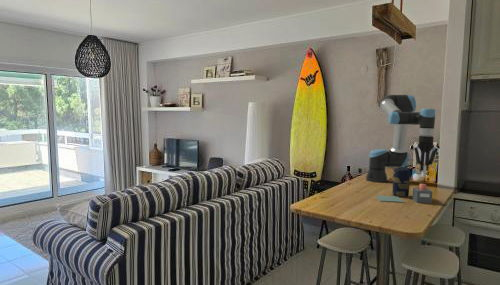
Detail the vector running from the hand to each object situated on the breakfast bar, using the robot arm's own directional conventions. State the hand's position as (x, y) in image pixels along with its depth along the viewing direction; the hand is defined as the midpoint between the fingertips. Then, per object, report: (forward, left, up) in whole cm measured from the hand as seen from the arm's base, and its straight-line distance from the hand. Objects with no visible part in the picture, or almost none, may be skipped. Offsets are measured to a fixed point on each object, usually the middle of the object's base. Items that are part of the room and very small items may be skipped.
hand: (423, 176), depth 197 cm
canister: (-11, -9, -15) cm, 21 cm away
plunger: (0, 0, -12) cm, 12 cm away
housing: (0, 0, -15) cm, 15 cm away
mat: (0, -18, -15) cm, 23 cm away
